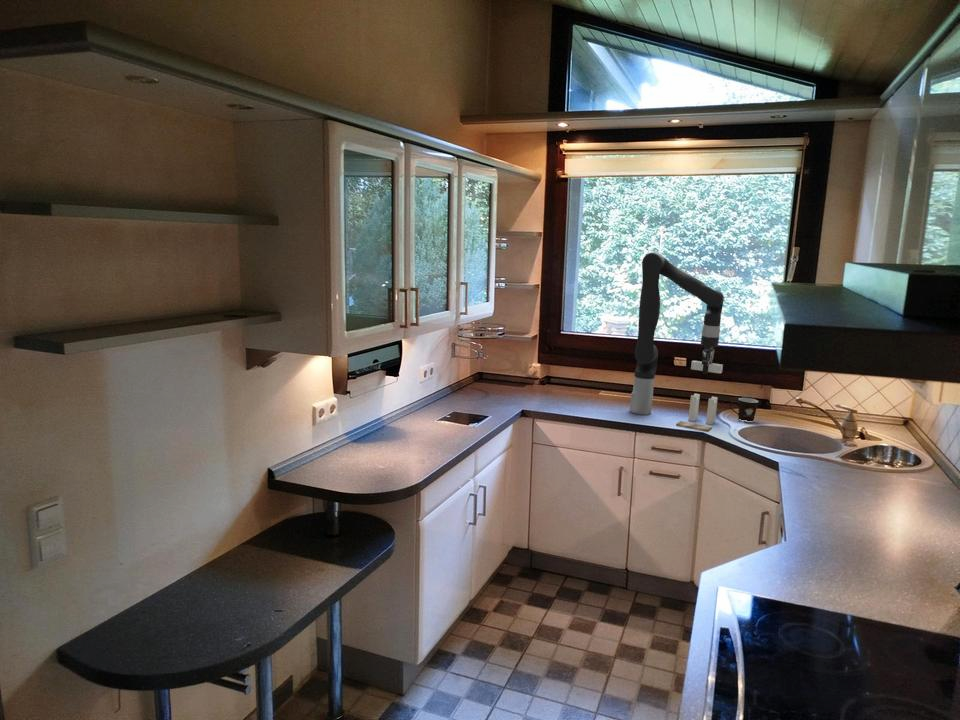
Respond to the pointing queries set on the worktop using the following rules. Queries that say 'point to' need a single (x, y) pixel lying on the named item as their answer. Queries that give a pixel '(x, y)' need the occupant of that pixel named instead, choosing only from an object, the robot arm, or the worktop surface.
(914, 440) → the worktop surface
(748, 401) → the coffee mug
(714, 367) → the rail
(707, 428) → the board
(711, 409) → the post
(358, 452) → the worktop surface
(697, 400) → the post
